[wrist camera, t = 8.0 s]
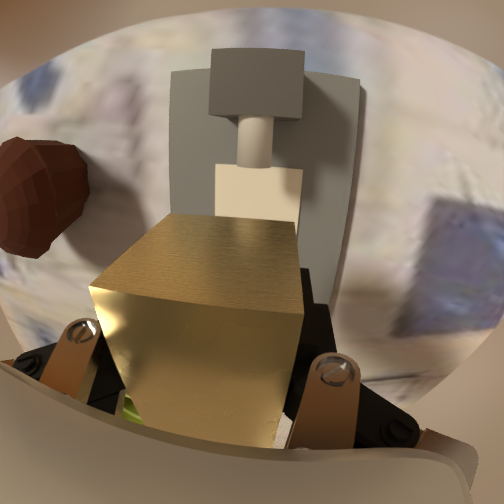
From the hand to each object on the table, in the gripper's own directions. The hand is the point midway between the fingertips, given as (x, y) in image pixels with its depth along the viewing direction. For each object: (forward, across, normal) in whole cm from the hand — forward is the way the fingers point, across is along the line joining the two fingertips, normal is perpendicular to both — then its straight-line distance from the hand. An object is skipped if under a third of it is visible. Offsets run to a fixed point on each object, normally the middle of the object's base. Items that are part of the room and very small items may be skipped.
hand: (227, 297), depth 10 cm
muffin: (+13, +20, -2) cm, 24 cm away
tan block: (0, 0, 0) cm, 0 cm away
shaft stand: (+13, 0, 0) cm, 13 cm away
